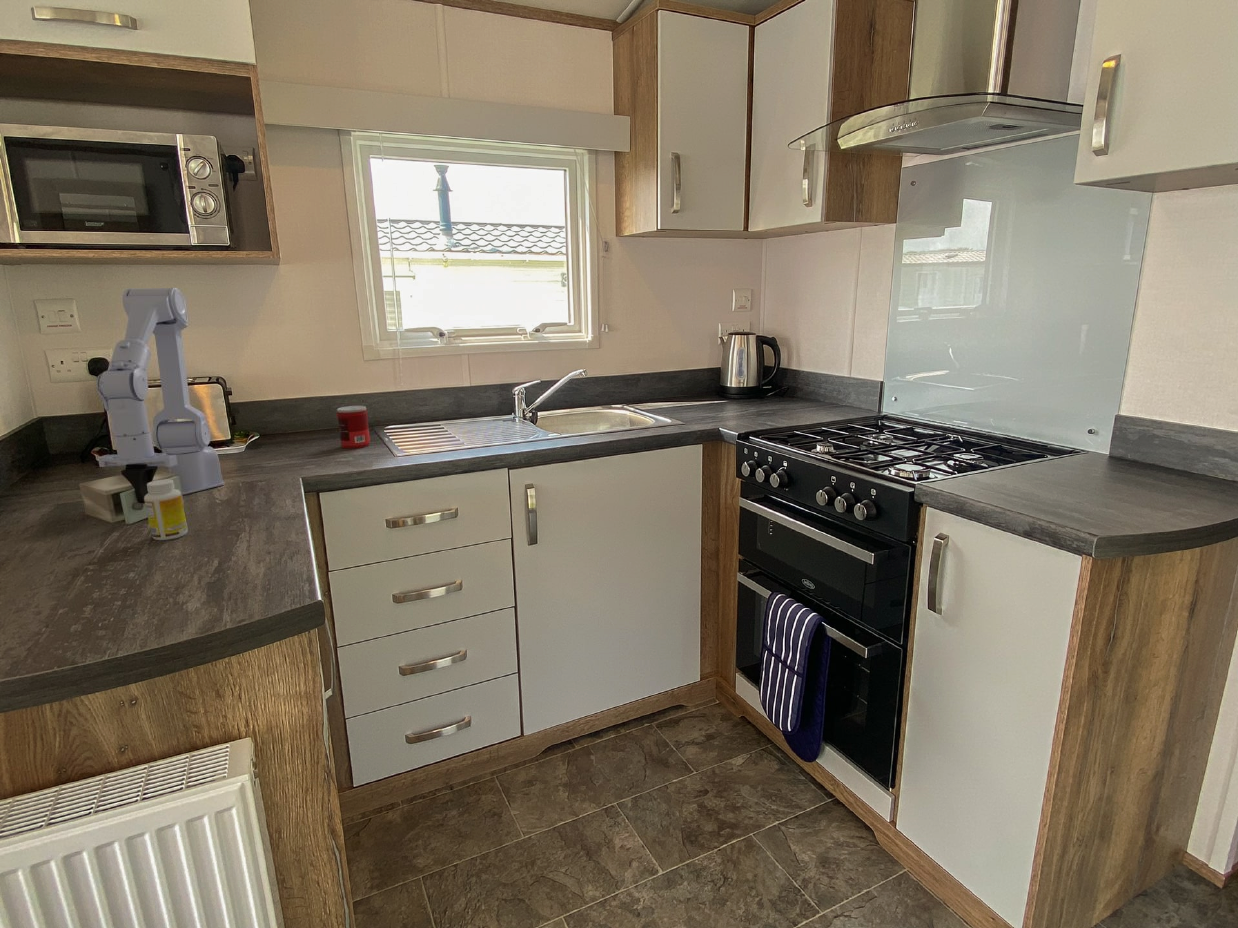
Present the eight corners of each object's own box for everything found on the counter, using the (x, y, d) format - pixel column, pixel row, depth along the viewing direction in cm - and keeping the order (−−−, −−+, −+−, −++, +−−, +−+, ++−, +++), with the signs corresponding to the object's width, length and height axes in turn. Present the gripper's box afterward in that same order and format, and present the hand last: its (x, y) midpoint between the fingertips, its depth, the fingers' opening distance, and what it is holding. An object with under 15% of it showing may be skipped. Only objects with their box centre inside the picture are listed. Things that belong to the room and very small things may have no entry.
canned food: (375, 442, 199) (370, 405, 196) (362, 449, 191) (357, 410, 188) (349, 442, 199) (345, 405, 197) (336, 449, 192) (331, 410, 189)
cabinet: (155, 497, 149) (149, 468, 147) (182, 504, 143) (176, 474, 142) (85, 514, 138) (79, 483, 137) (112, 522, 133) (105, 490, 131)
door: (180, 503, 143) (175, 476, 141) (188, 504, 142) (183, 476, 141) (126, 523, 131) (119, 493, 129) (135, 524, 130) (129, 494, 129)
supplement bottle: (194, 530, 127) (184, 477, 125) (178, 540, 122) (168, 485, 120) (162, 531, 127) (152, 478, 124) (145, 542, 122) (134, 487, 119)
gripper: (78, 438, 126) (94, 508, 130) (152, 437, 125) (165, 508, 128) (109, 430, 133) (123, 497, 136) (179, 430, 132) (191, 497, 135)
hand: (146, 502), depth 133 cm, fingers closed, pressing on door
